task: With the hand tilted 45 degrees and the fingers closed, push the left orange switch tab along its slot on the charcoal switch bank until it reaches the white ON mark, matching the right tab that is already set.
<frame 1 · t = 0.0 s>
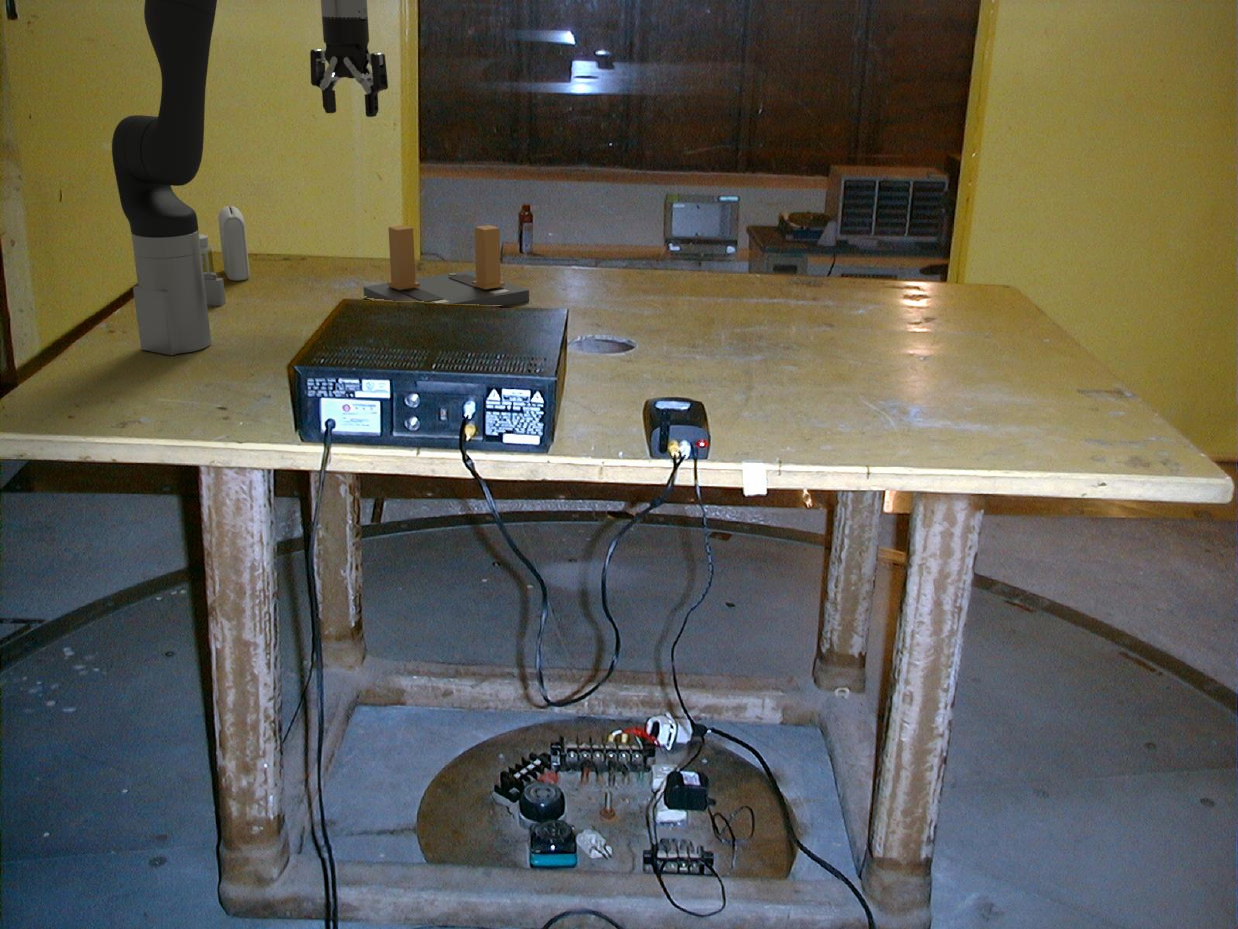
hand: (351, 114, 209), 29 cm above the table, tool pointing down, fingers open, 8 cm apart
lighter: (204, 304, 205), on the table
tab left: (402, 256, 206), point 8 cm above the table, slide at 0.0 cm
supplement bottle: (201, 284, 217), on the table
tab right: (487, 256, 208), point 8 cm above the table, slide at 8.0 cm
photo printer: (237, 275, 224), on the table
switch bank: (446, 299, 210), on the table
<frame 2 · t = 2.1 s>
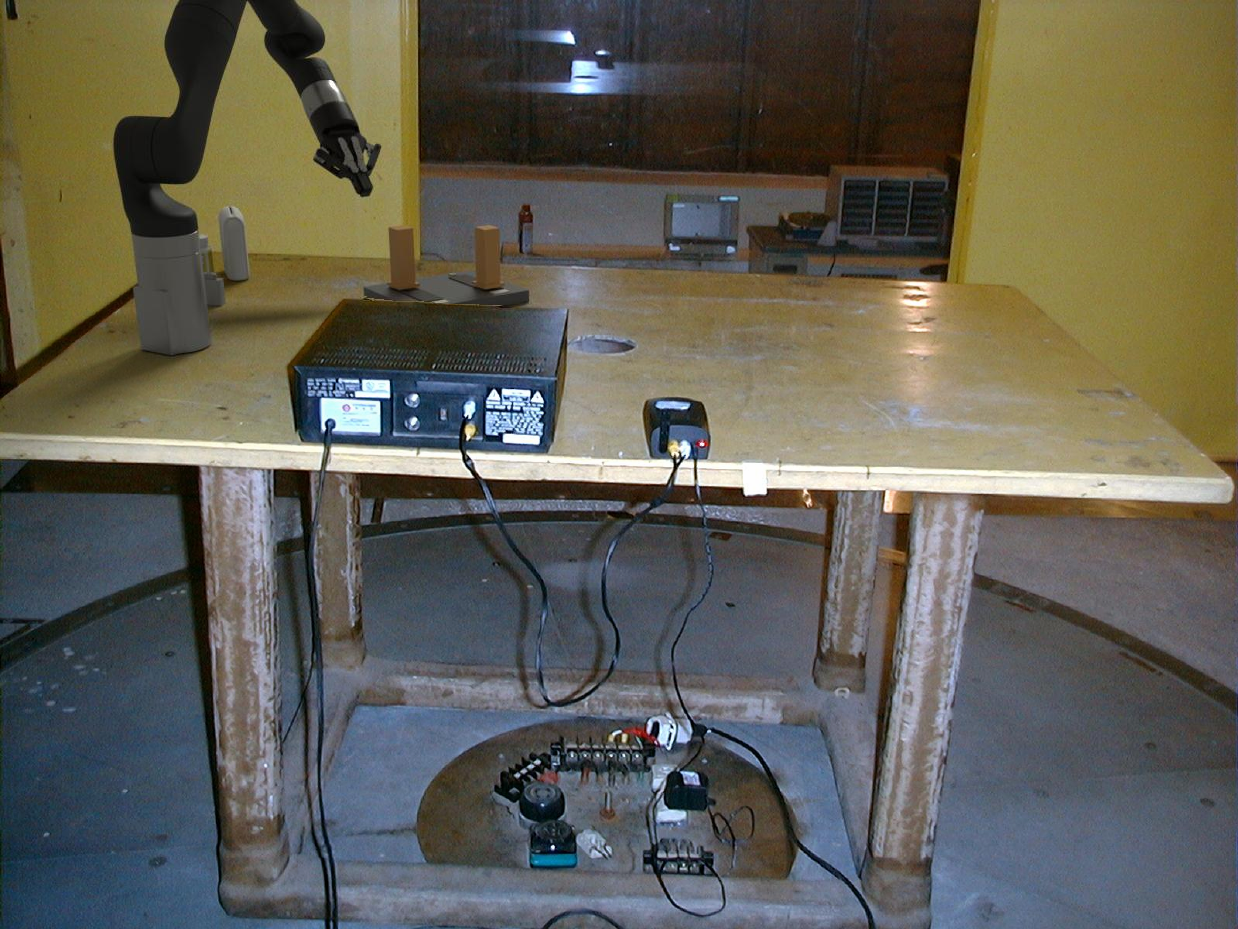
hand: (367, 193, 211), 16 cm above the table, tool tilted 45°, fingers closed
nothing on the table moved.
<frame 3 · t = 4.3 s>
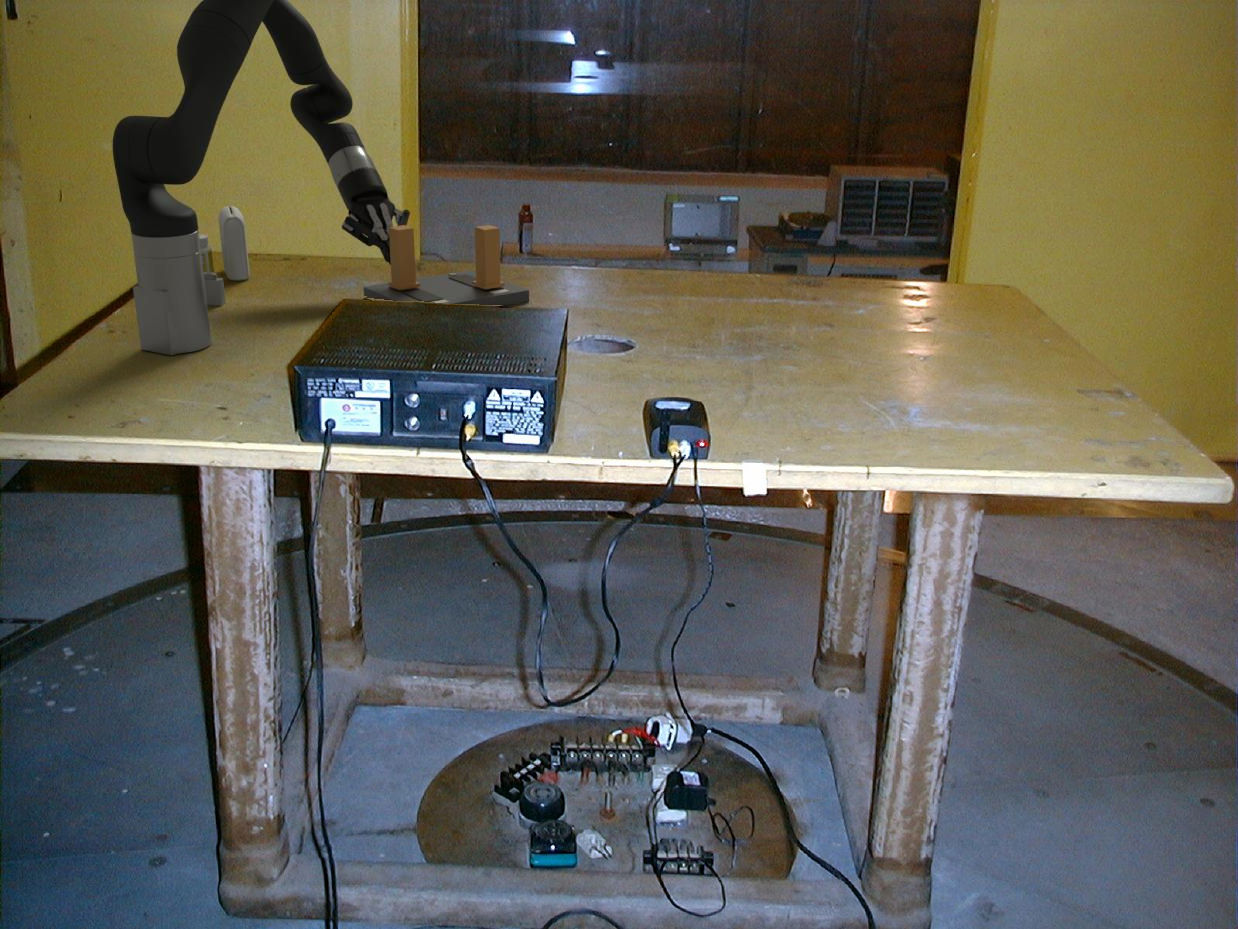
hand: (396, 261, 208), 6 cm above the table, tool tilted 45°, fingers closed
tab left: (402, 257, 206), point 8 cm above the table, slide at 0.1 cm, touching gripper
everything else where it was.
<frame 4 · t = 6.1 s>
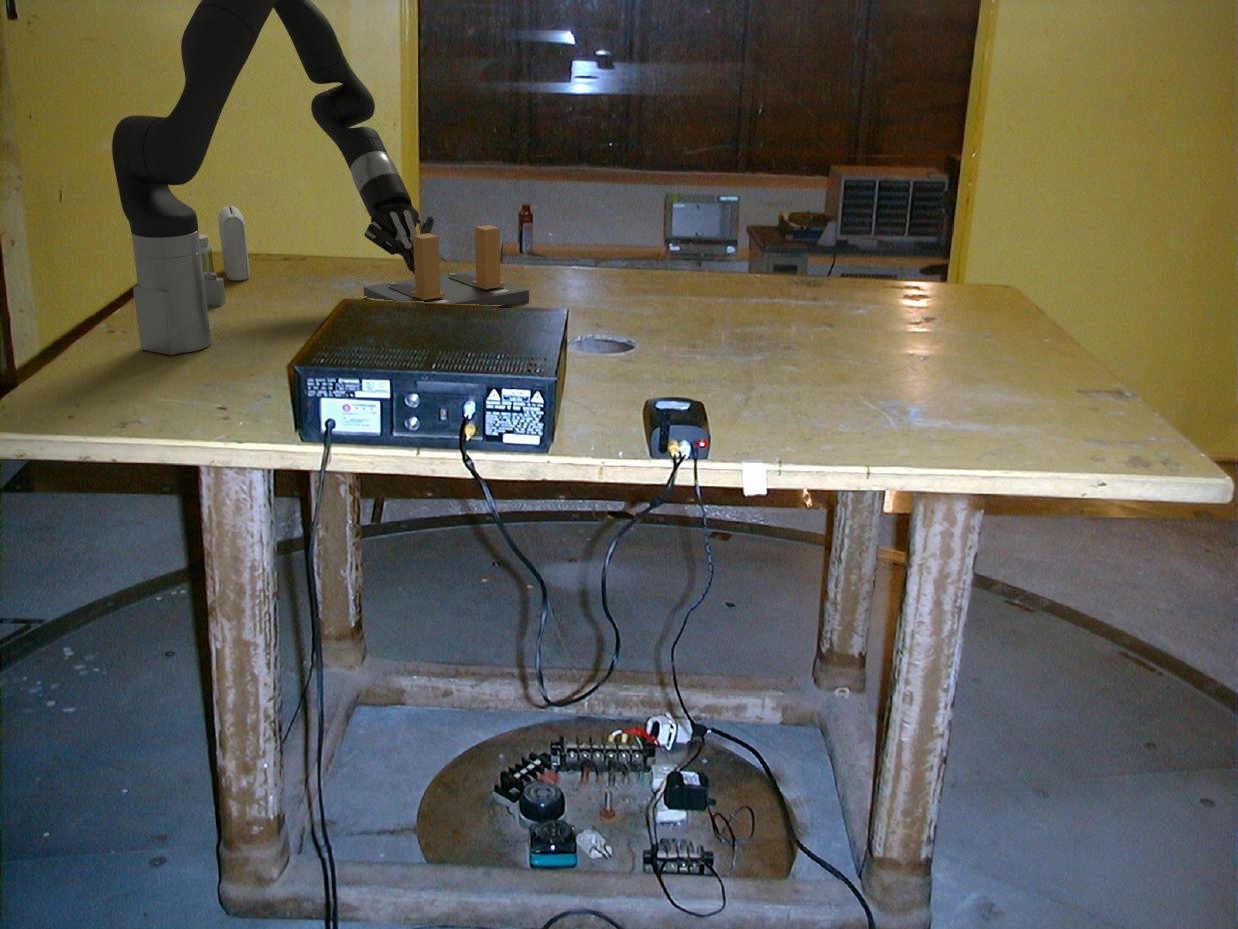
hand: (420, 270, 202), 6 cm above the table, tool tilted 45°, fingers closed
tab left: (426, 266, 201), point 8 cm above the table, slide at 8.1 cm, touching gripper
everything else where it was.
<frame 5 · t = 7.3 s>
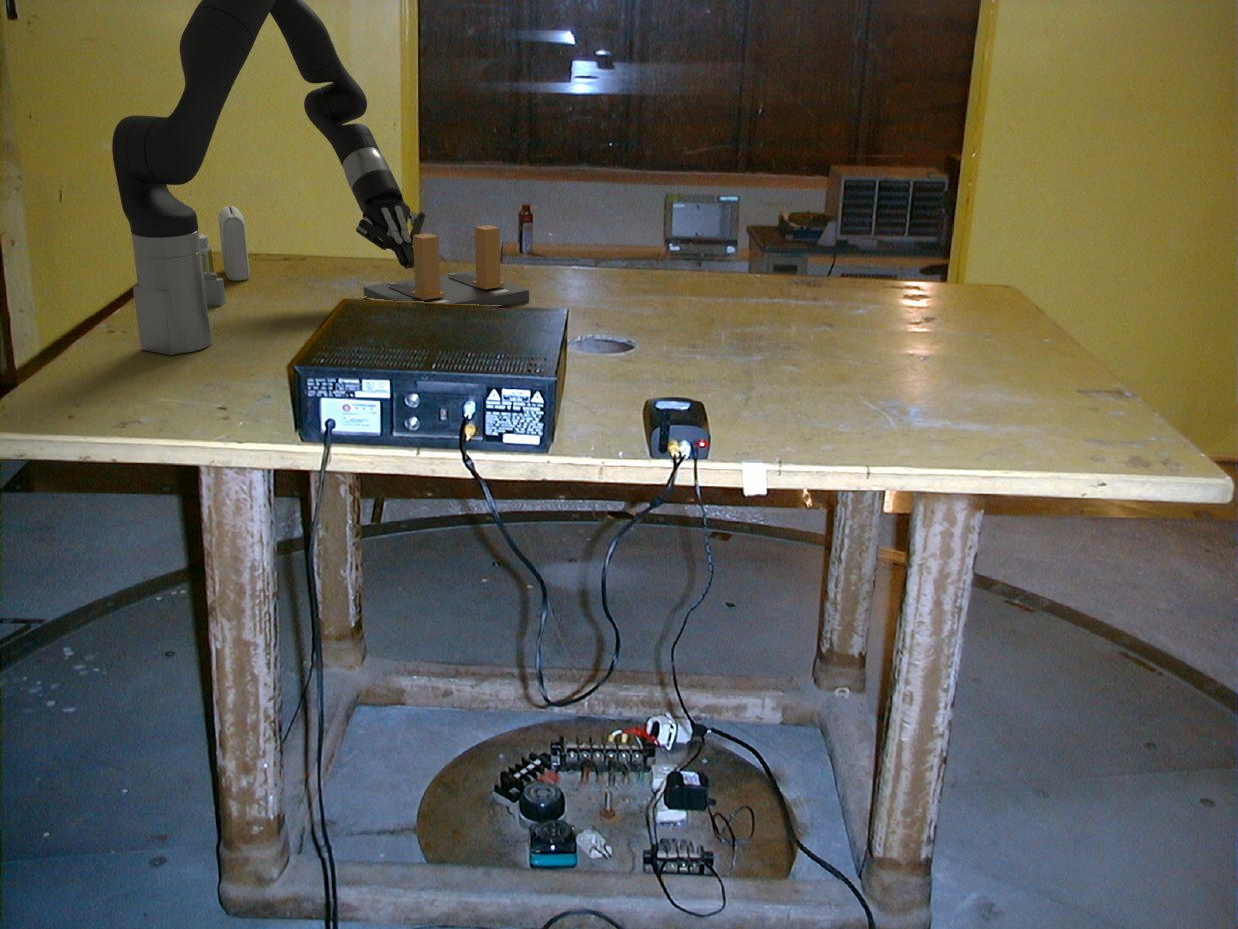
hand: (411, 265, 205), 7 cm above the table, tool tilted 45°, fingers closed
tab left: (426, 266, 201), point 8 cm above the table, slide at 8.0 cm
everything else where it was.
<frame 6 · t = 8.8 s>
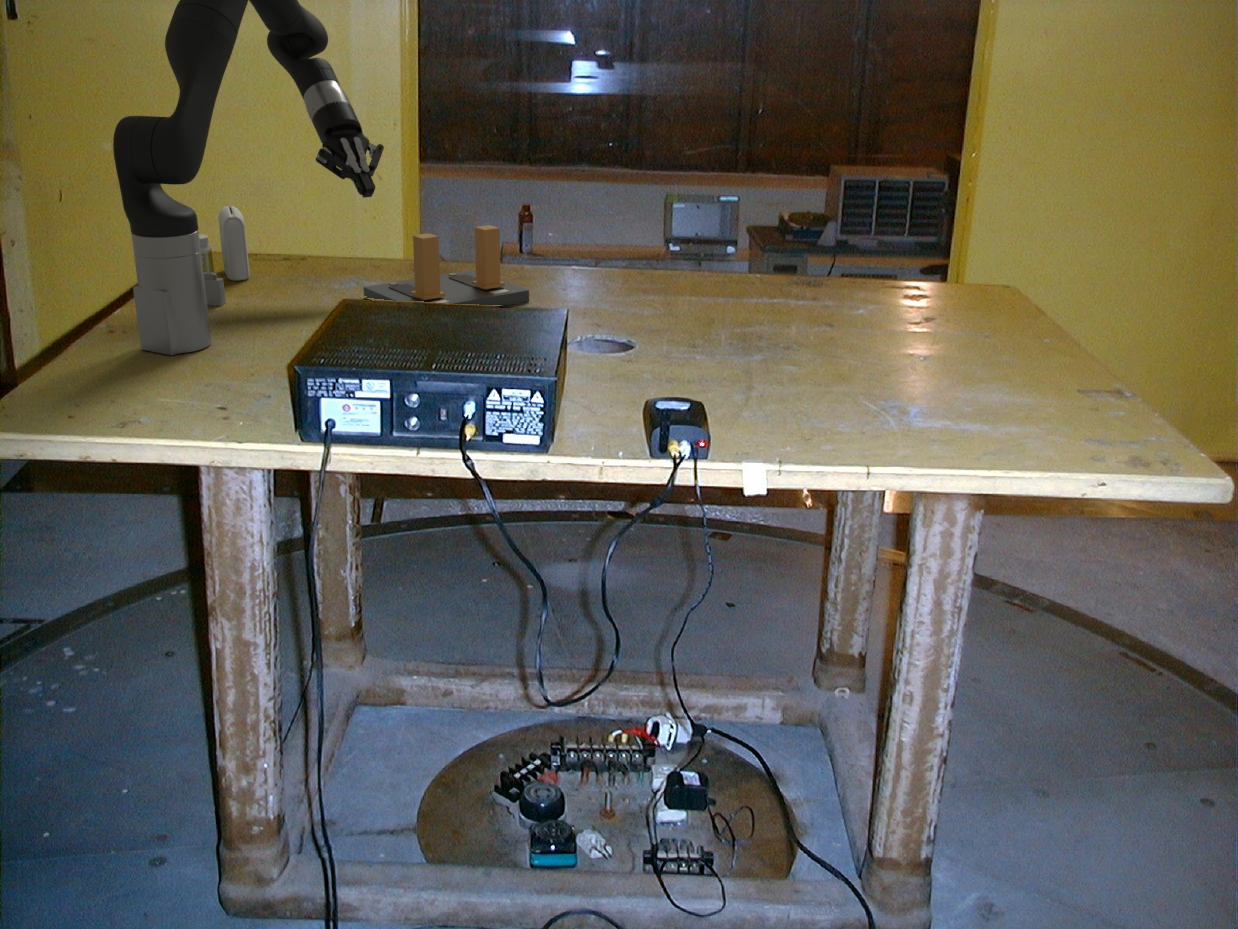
hand: (369, 194, 211), 16 cm above the table, tool tilted 45°, fingers closed
nothing on the table moved.
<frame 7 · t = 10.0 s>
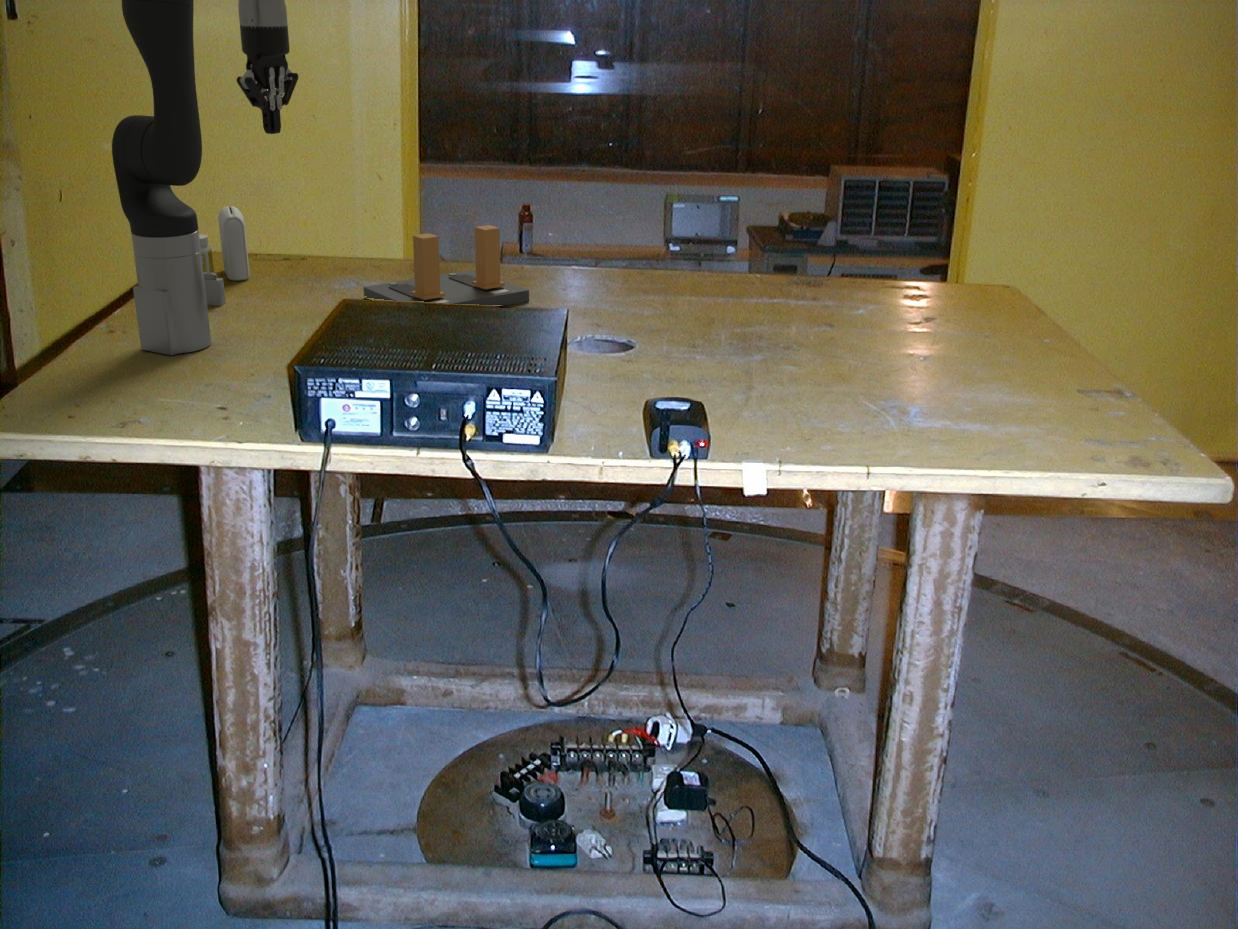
hand: (272, 132, 204), 27 cm above the table, tool pointing down, fingers closed
nothing on the table moved.
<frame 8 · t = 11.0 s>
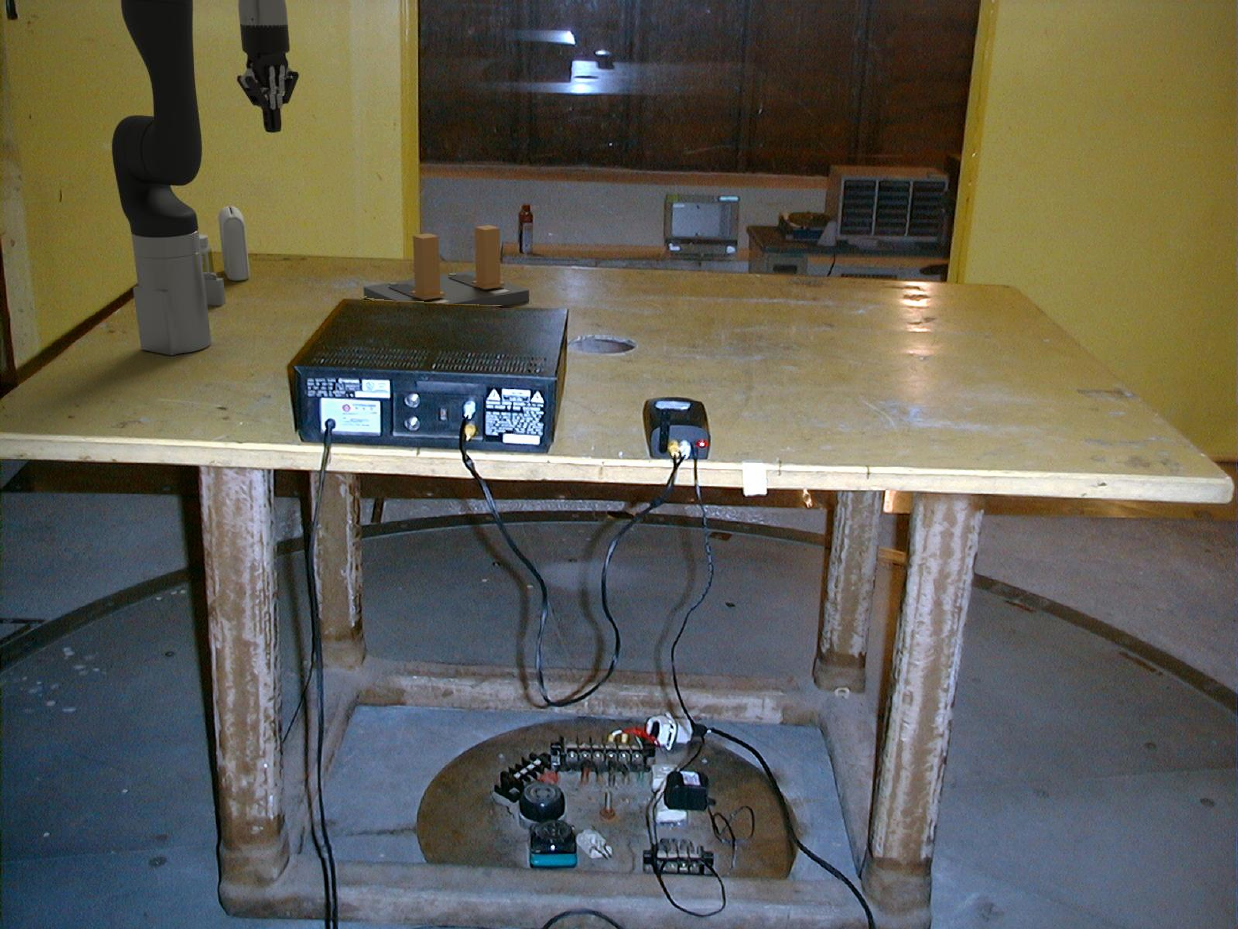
hand: (273, 131, 204), 27 cm above the table, tool pointing down, fingers closed
nothing on the table moved.
at the end: tab left slide at 8.0 cm; tab right slide at 8.0 cm; tab left touching nothing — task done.
